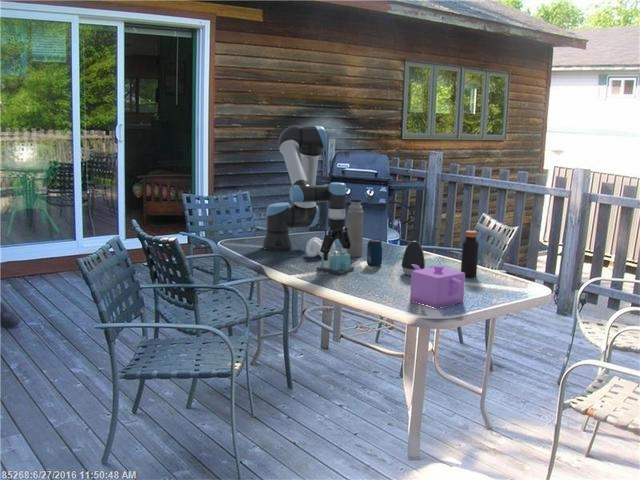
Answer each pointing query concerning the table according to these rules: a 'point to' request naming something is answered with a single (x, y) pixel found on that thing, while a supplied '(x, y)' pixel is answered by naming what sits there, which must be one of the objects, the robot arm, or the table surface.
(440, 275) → the teapot
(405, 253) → the egg shaped speaker
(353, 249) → the thermos bottle
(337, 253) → the post base
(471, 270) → the black water bottle
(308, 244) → the white coiled rope
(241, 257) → the table surface
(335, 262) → the teal rectangular planter
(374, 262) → the soda can
